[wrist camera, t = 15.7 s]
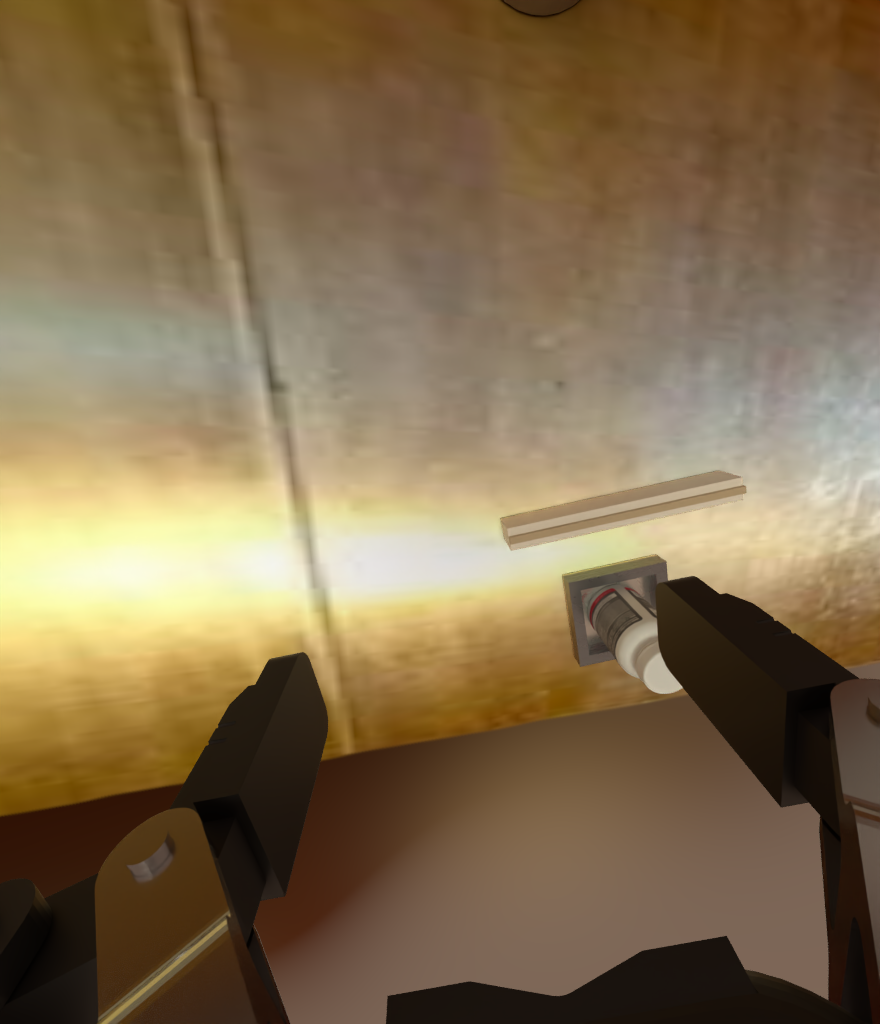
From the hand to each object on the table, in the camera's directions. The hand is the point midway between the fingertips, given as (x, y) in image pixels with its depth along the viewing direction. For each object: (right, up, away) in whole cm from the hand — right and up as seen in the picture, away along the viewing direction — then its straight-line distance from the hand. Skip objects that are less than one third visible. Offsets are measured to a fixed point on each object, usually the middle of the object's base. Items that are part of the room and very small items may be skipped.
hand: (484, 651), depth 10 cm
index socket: (+16, -6, +33) cm, 37 cm away
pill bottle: (+16, -6, +33) cm, 37 cm away
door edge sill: (+14, +4, +30) cm, 34 cm away
